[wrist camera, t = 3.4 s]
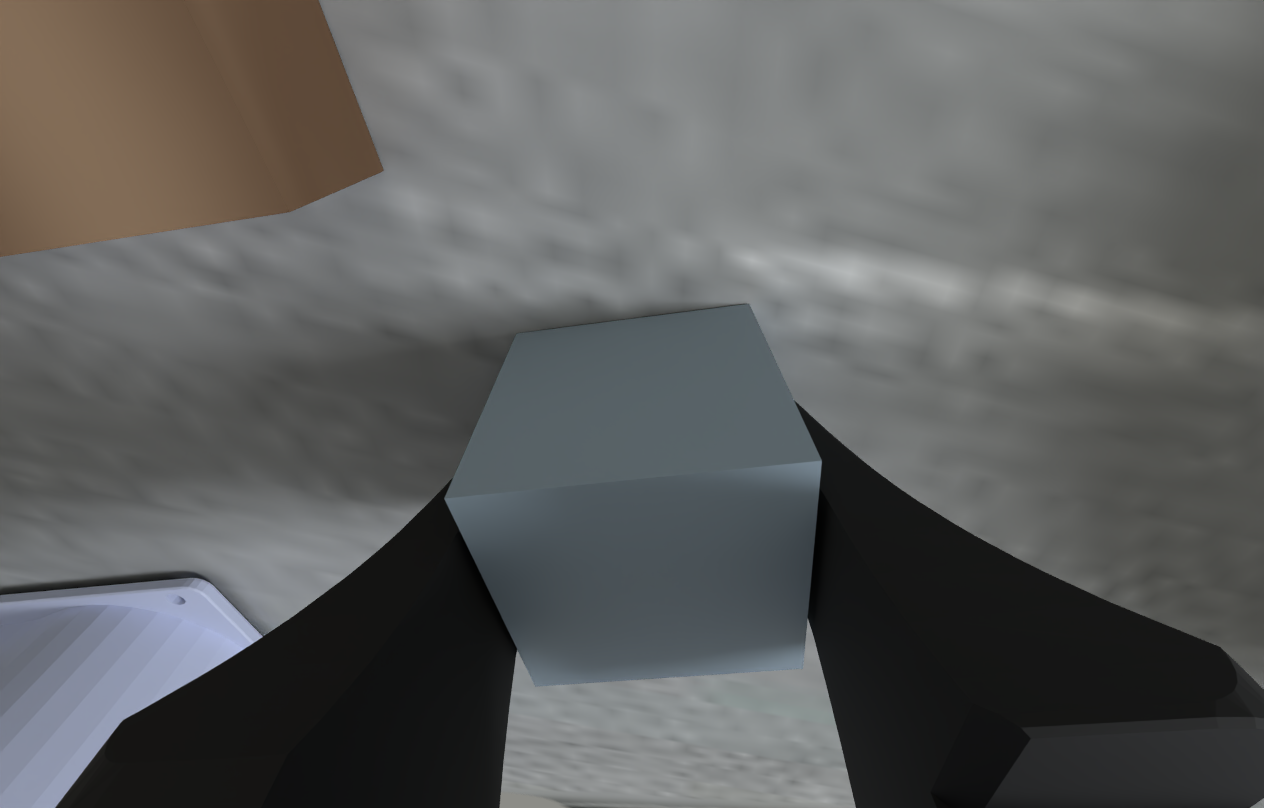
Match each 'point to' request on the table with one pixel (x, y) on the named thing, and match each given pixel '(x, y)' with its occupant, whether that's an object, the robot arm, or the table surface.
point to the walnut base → (168, 116)
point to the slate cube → (644, 500)
